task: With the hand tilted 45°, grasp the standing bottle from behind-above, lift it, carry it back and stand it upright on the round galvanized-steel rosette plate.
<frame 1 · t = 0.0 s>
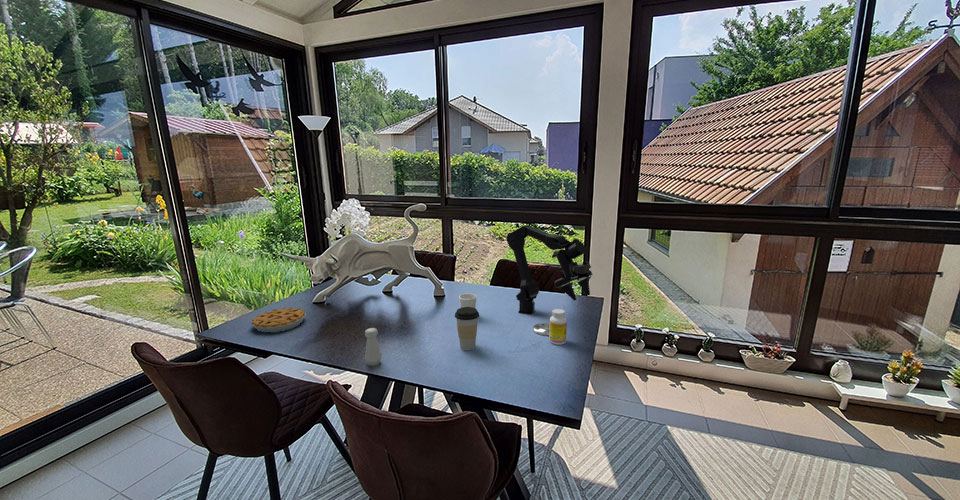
hand: (582, 297, 159), 15 cm above the table, tool tilted 35°, fingers open, 9 cm apart
pie: (280, 325, 176), on the table
dixie cup: (468, 317, 181), on the table
coffee cup: (467, 347, 150), on the table
rosette plate: (546, 330, 164), on the table
salt shaker: (373, 363, 139), on the table
supplement bottle: (557, 342, 153), on the table
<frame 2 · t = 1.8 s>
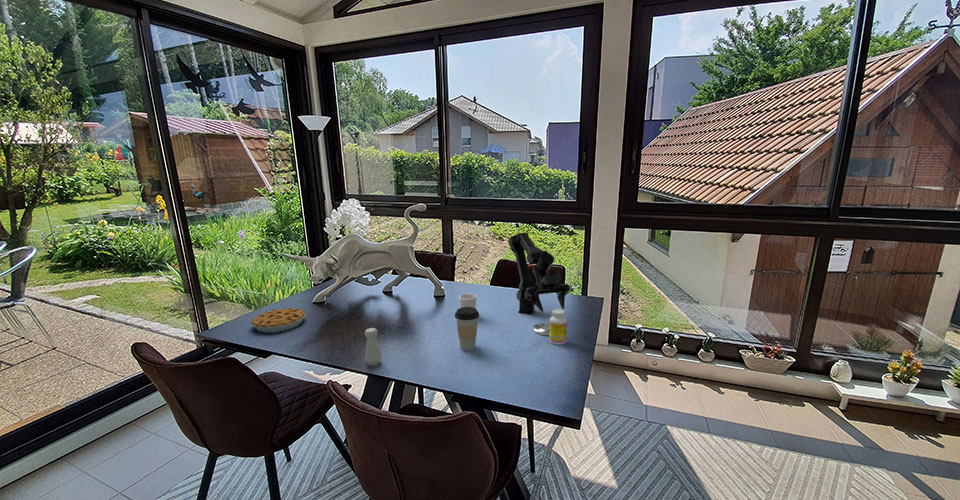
hand: (553, 310, 156), 11 cm above the table, tool tilted 45°, fingers open, 9 cm apart
nothing on the table moved.
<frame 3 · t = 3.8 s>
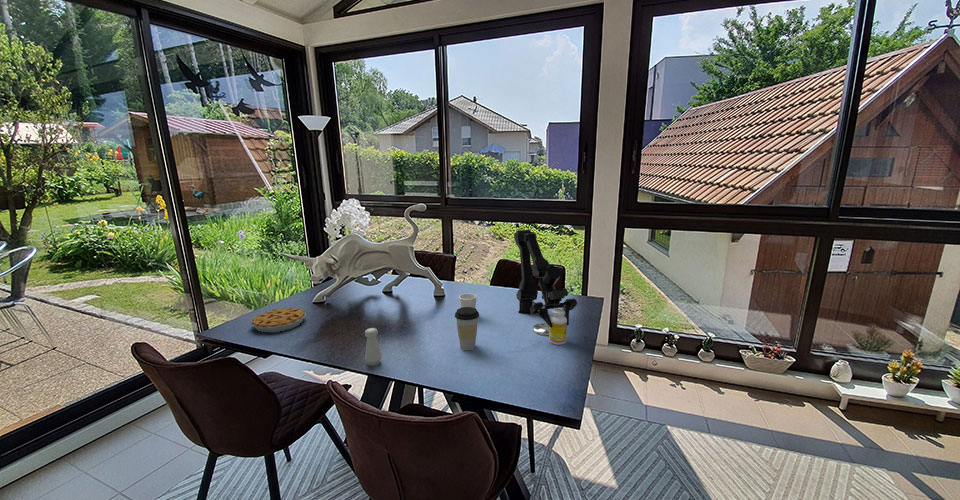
hand: (559, 326, 151), 7 cm above the table, tool tilted 45°, fingers closed on supplement bottle, 7 cm apart
supplement bottle: (557, 342, 153), on the table, touching gripper
everything else where it was.
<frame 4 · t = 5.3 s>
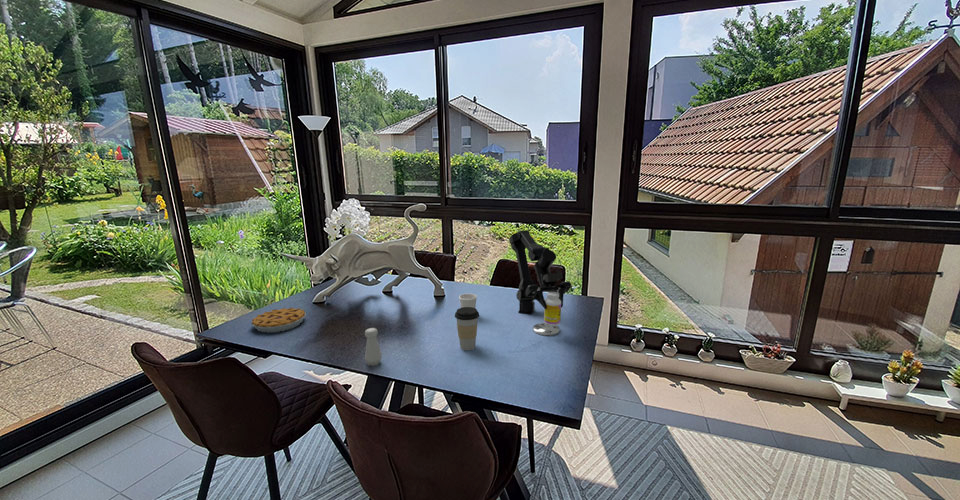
hand: (554, 308, 155), 13 cm above the table, tool tilted 45°, fingers closed on supplement bottle, 7 cm apart
supplement bottle: (552, 323, 158), point 5 cm above the table, touching gripper
everything else where it was.
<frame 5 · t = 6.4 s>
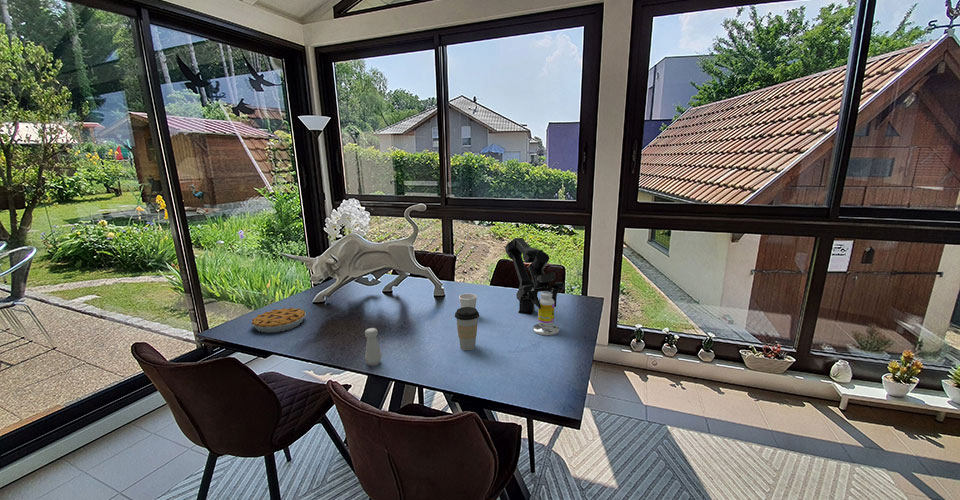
hand: (547, 307, 161), 11 cm above the table, tool tilted 45°, fingers closed on supplement bottle, 7 cm apart
supplement bottle: (545, 322, 164), point 3 cm above the table, touching gripper
everything else where it was.
when the fingers open (9 cm above the table, at t = 7.2 s): supplement bottle drops 1 cm, resting on rosette plate.
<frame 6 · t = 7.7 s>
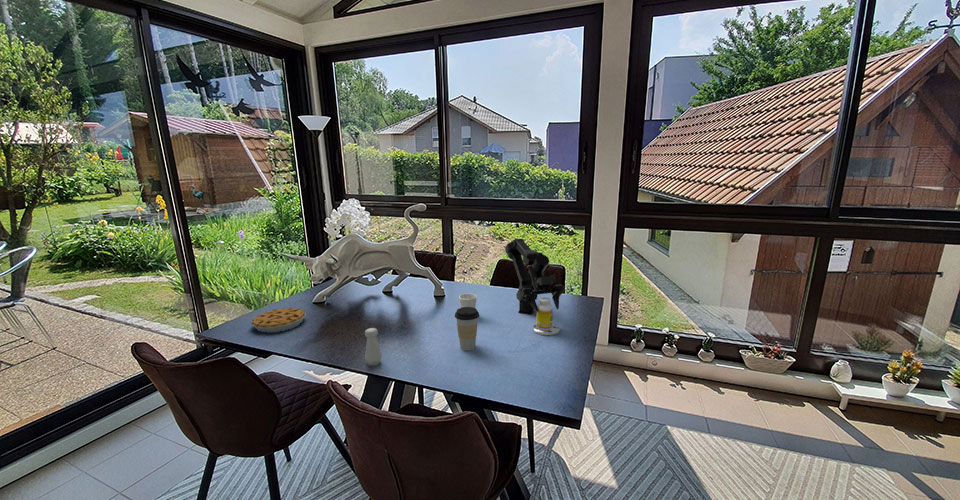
hand: (547, 310, 161), 10 cm above the table, tool tilted 45°, fingers open, 9 cm apart
supplement bottle: (544, 328, 164), point 1 cm above the table, touching rosette plate
everything else where it was.
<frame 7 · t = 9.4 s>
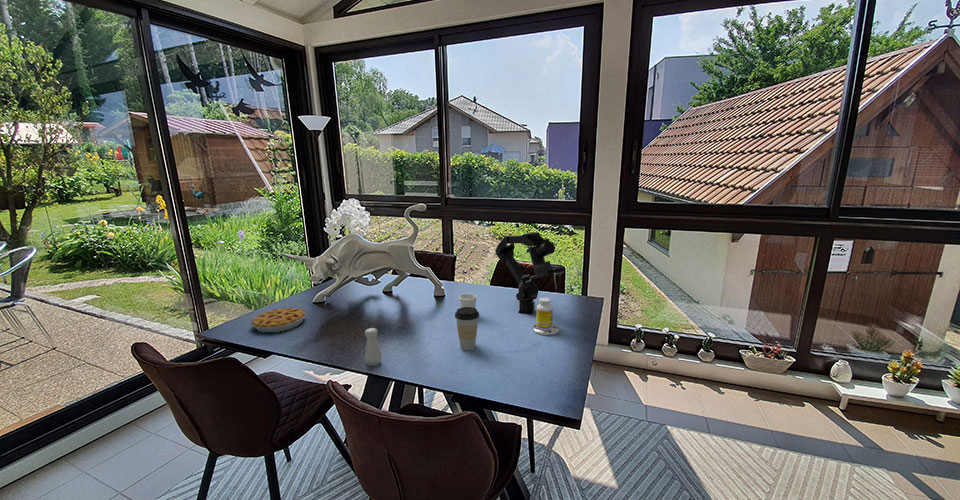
hand: (547, 293, 171), 13 cm above the table, tool tilted 25°, fingers open, 9 cm apart
nothing on the table moved.
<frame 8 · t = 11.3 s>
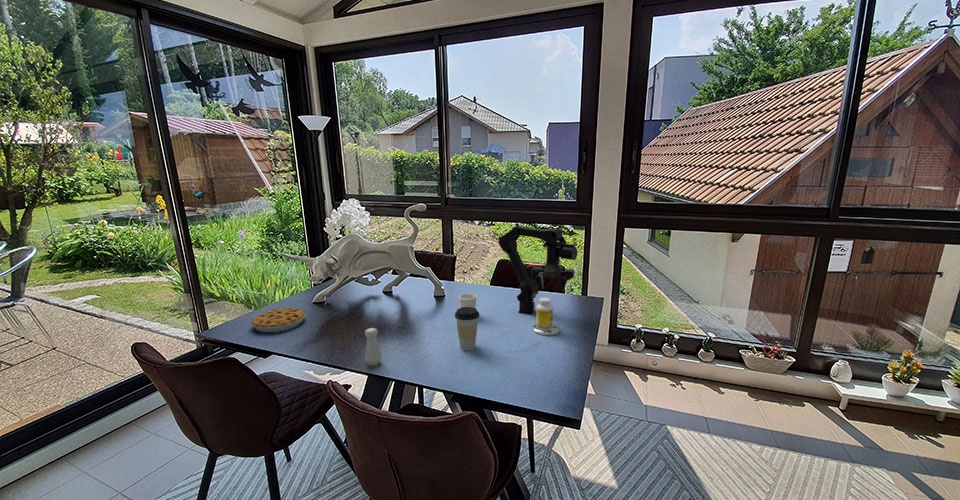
hand: (552, 290, 175), 13 cm above the table, tool pointing down, fingers open, 9 cm apart
nothing on the table moved.
at the end: supplement bottle 0.8 cm from the rosette plate (horizontally); supplement bottle tilted 0°; the gripper is holding nothing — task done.
